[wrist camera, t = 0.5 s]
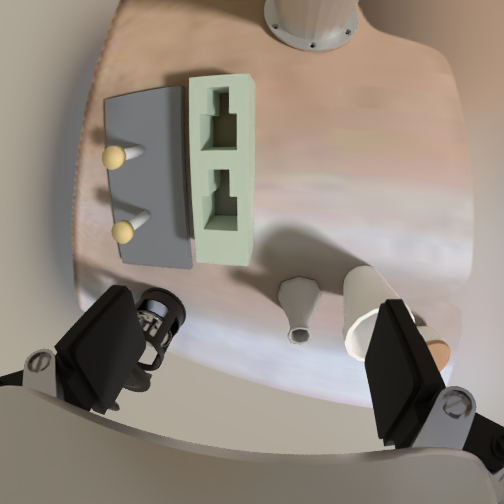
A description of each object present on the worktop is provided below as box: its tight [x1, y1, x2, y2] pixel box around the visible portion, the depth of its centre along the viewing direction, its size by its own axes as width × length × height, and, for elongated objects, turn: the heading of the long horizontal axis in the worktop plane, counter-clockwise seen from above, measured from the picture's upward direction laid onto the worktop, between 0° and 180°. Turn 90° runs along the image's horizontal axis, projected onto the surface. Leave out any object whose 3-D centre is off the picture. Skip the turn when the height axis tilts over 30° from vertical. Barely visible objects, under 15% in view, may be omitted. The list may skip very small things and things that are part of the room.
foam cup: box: [343, 265, 415, 362], centre depth 36 cm, size 10×9×13 cm
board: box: [102, 86, 193, 270], centre depth 36 cm, size 28×13×9 cm, turn 0°
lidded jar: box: [416, 326, 450, 372], centre depth 41 cm, size 11×11×9 cm
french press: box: [110, 288, 186, 411], centre depth 40 cm, size 12×9×23 cm
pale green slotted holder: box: [189, 74, 255, 266], centre depth 35 cm, size 24×7×6 cm, turn 0°
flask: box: [277, 277, 322, 345], centre depth 40 cm, size 7×7×10 cm
